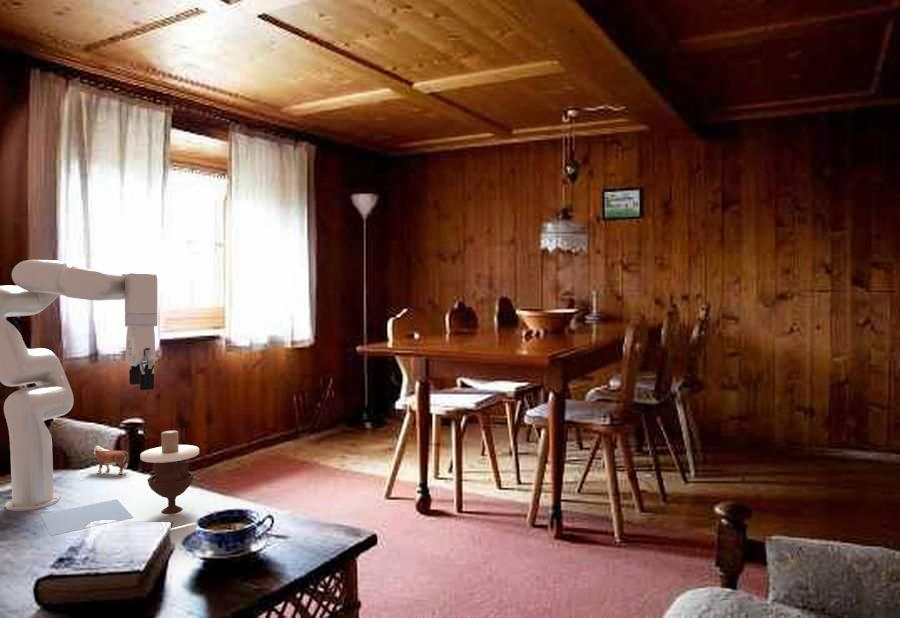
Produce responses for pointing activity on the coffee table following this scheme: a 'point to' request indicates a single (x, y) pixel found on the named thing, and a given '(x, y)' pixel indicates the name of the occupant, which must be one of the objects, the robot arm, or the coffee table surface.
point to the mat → (84, 516)
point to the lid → (169, 450)
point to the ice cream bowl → (170, 482)
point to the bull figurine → (110, 458)
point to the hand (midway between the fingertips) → (141, 386)
